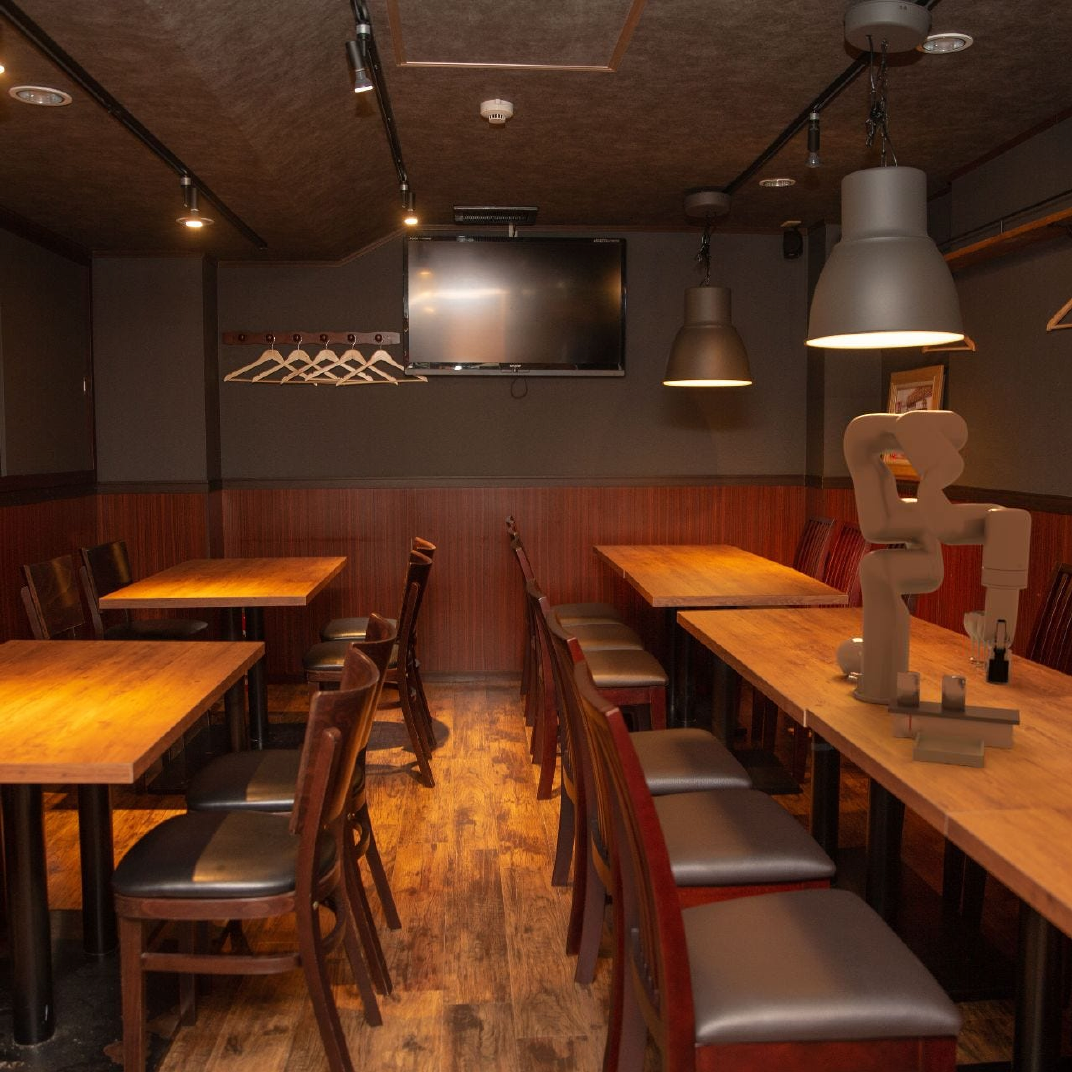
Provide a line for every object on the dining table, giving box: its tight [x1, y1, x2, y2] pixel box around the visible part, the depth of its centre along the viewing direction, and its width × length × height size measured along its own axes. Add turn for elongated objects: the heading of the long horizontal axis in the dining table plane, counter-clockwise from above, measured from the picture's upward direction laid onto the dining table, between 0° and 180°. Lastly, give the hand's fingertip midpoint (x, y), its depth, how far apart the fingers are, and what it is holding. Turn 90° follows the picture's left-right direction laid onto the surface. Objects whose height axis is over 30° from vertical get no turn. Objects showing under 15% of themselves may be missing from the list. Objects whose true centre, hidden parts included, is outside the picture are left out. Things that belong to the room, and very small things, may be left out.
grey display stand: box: [886, 698, 1021, 750], centre depth 192 cm, size 22×8×5 cm, turn 66°
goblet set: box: [963, 610, 1013, 674], centre depth 252 cm, size 28×6×13 cm, turn 171°
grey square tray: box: [912, 733, 985, 769], centre depth 181 cm, size 11×11×2 cm
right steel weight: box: [985, 647, 1013, 686], centre depth 189 cm, size 4×4×6 cm
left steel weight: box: [897, 670, 921, 707], centre depth 195 cm, size 4×4×6 cm
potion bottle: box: [835, 636, 862, 677], centre depth 243 cm, size 9×10×15 cm
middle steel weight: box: [941, 673, 967, 712], centre depth 192 cm, size 4×4×6 cm
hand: (997, 677), depth 189 cm, fingers closed on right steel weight, 4 cm apart
